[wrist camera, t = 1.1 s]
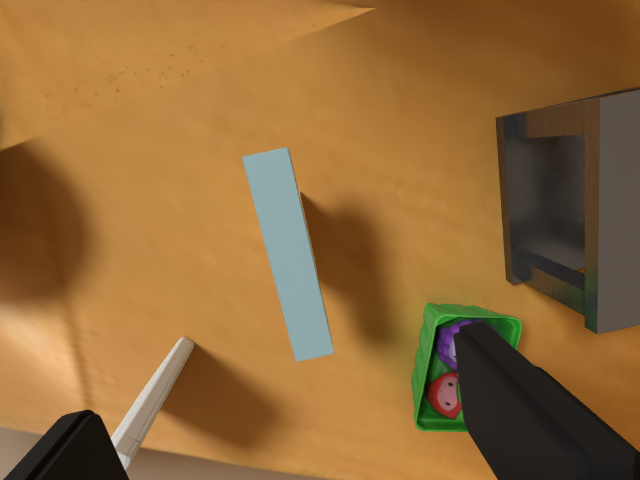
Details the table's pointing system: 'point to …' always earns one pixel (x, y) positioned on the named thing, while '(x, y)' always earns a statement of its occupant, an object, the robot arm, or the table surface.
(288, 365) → the table surface
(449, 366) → the fruit basket
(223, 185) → the table surface
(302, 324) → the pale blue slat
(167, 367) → the hard drive
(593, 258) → the gray open box frame
